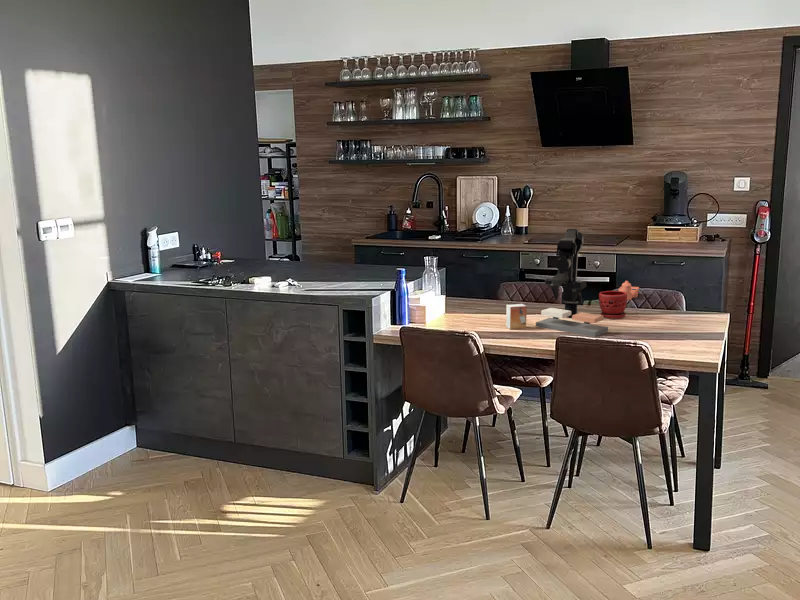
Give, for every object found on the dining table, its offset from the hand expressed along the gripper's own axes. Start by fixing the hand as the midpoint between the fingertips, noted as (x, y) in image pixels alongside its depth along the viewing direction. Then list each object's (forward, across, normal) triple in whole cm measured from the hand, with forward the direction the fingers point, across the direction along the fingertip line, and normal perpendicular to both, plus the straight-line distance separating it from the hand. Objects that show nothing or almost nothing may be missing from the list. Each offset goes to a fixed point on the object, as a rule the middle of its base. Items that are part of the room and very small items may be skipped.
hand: (565, 301), depth 360 cm
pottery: (+13, -10, +78) cm, 80 cm away
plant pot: (+12, +8, +30) cm, 33 cm away
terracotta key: (+8, +14, -3) cm, 16 cm away
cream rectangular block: (+8, -2, -3) cm, 9 cm away
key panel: (+12, +6, -3) cm, 13 cm away
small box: (+12, -15, -17) cm, 25 cm away
